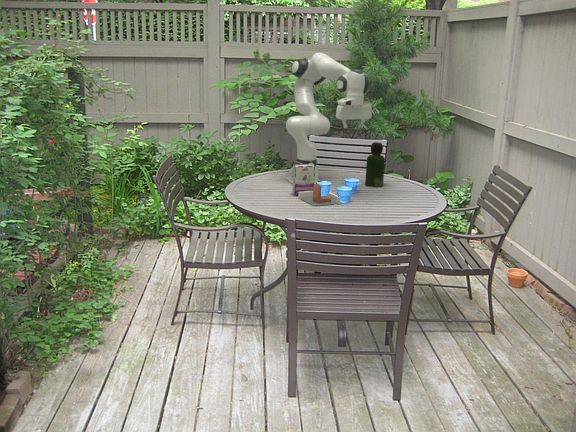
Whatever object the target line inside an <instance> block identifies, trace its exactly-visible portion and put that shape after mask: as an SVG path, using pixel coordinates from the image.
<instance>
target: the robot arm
mask: <svg viewBox="0 0 576 432" xmlns="http://www.w3.org/2000/svg"><path fill="white" fill-rule="evenodd" d="M291 74H292V75H293V76H294V77H296V78H298V79H296V80H295V82H294V90H293V92H294V94H293V95H294V102H295V108H296V110H297V112H298V113H300V114H301V115H293V116H290V117H288V119H287V120H286V121H285V122H286V123H285V129H286V131H287V132H288V134H289V135H290V136H292V137H293V139H294V140H295V141H294V142H295V143H296V147H297V148H296V153H297V155H296V158H295V164H294V165H304V164H313V165H314V166H315V177H314V184H316V183H317V182H318V181H320V182H321V180H320V179H319V168H318V167H317V163H318V162H317V160H318V159H317V145H316V144H315V142H313V141H311V140H309V139H308V136H322V135H326V134H327V133H328V132H329V131H330V129H331V121H330V120H329V118H328V117H326V116H324V115H323V114H322V113H321V112H320V111H319V109H318V108H317V105H316V101H315V97H314V96H315V95H314V91H313V89H314V88H313V86H319V84H321V83H322V82H324V81H325V80H326V79H333V80H334V79H336V81H335V82H336V83H335V86H336V90H337V91H338V92H339V93H341V94H346V97H343V98H341V99H339V100H337V107H336V110H335V118H336V119H337V120H340V121H341V123H342V125H343V129H348V127H349V126H348V124H347V121H348V120H360V121H361V122H360V123H359V124H358V128H361V129H362V128H363V127H364V124H365V122H366V120H370V119H372V116H373V111H372V108H373V107H372V106H373V104H372V103H371V101H368V100H367V101H365V100H364V97H365V94H366V93H367V92H368V91H369V89H370V87H371V81H370V79H369V77H368V76H367V75H365V72H364V70H361V69H357V68H353V69H351V68H349V67H347V66H345V65H344V64H342V63H339V61H337V60H335V59H333V57H331V56H329V55H328V54H325V53H323V52H316V53H314V54H313V55H312V56H311V58H310V59H307V58H306V57H305V58H304V57H303V58H297V59H295V60H294V61H293V62H292V65H291ZM285 180H286V181H288V182H289V183H290V184H292V185H293V166H292V167H290V168H289V171H288V176H285ZM318 183H319V182H318ZM318 183H317V184H318Z"/></svg>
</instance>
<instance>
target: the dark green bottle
mask: <svg viewBox="0 0 576 432" xmlns="http://www.w3.org/2000/svg"><path fill="white" fill-rule="evenodd" d="M383 148H384V146H383V143H381V142H378V141H376V142H375V141H374V142H372V143H371V145H370V152H371V154H370V155H368V156H367V157H366V167H365V181H364V184H366V185H365V186H367V187H370V186H373V187H372V188H380V187H379V186H381V187H383V186H384V176H385V165H386V164H385V162H386V159H385V156H383V155H381V154H383V152H384V151H383V150H384V149H383Z"/></svg>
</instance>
